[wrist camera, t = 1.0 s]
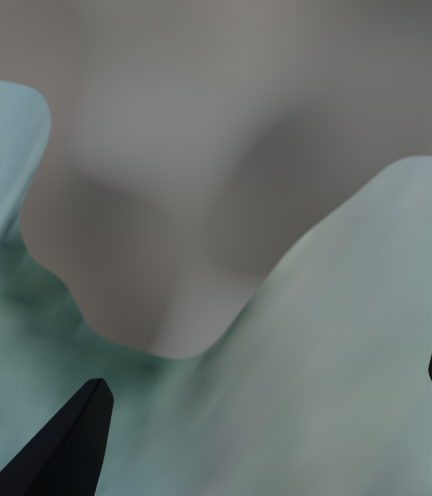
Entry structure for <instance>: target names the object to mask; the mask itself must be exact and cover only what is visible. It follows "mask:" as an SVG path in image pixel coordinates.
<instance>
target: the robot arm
mask: <svg viewBox="0 0 432 496" xmlns="http://www.w3.org/2000/svg"><path fill="white" fill-rule="evenodd" d="M428 372H429V376H430V378H431V380H432V355H431V359H430V363H429V367H428ZM113 403H114V398H113V394H112V392H111V390H110V389H109V387H108V385H107V383H106V381H105V380H104V379H103V378H95V379H90V380H88V381H87V382H86V383H85V384H84V385H83V386H82V387H81V388H80V389H79V390H78V391H77V392H76V393H75V394H74V395H73V396H72V397H71V398H70V399H69V400H68V401H67V403H66V404H65V405H64V406H63V407H62V408H61V409H60V410H59V411H58V412H57V413H56V414H55V415H54V416H53V417H52V418H51V419H50V420H49V421H48V422H47V423H46V424H45V426H44V427H43V428H42V429H41V430H40V431H39V432H38V433H37V434H36V435H35V436H34V437H33V438H32V439H31V440H30V441H29V442H28V443H27V444H26V445H25V446H24V447H23V449H22V450H21V451H20V452H19V453H18V454H17V455H16V456H15V457H14V458H13V459H12V460H11V461H10V462H9V463H8V464H7V465H6V466H5V467H4V468H3V469H2V470H1V472H0V496H94V494H95V491H96V487H97V483H98V480H99V476H100V472H101V468H102V464H103V460H104V455H105V450H106V445H107V439H108V433H109V427H110V421H111V415H112V410H113Z"/></svg>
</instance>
